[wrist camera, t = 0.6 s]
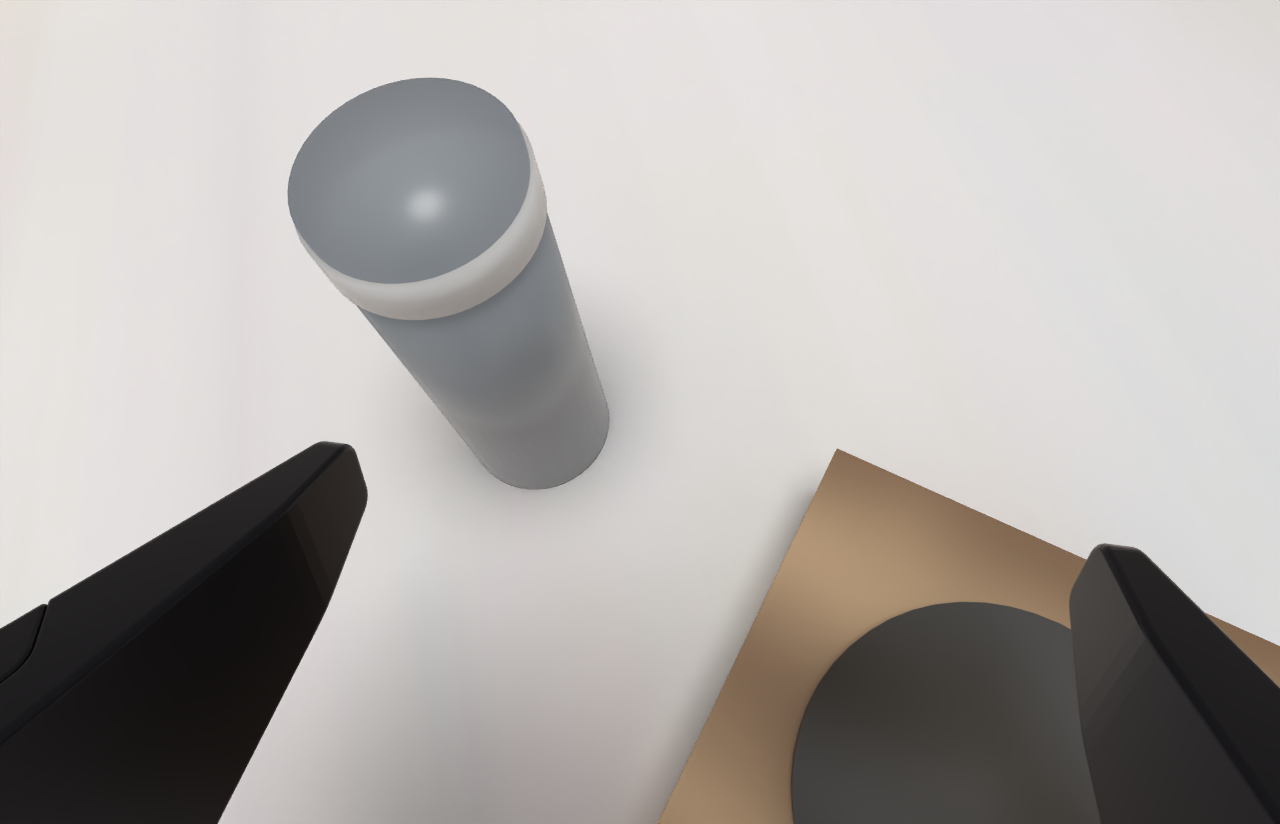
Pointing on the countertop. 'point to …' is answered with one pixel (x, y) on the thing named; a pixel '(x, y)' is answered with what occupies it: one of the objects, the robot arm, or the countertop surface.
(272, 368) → the countertop surface
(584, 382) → the grey bottle
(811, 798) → the stand
